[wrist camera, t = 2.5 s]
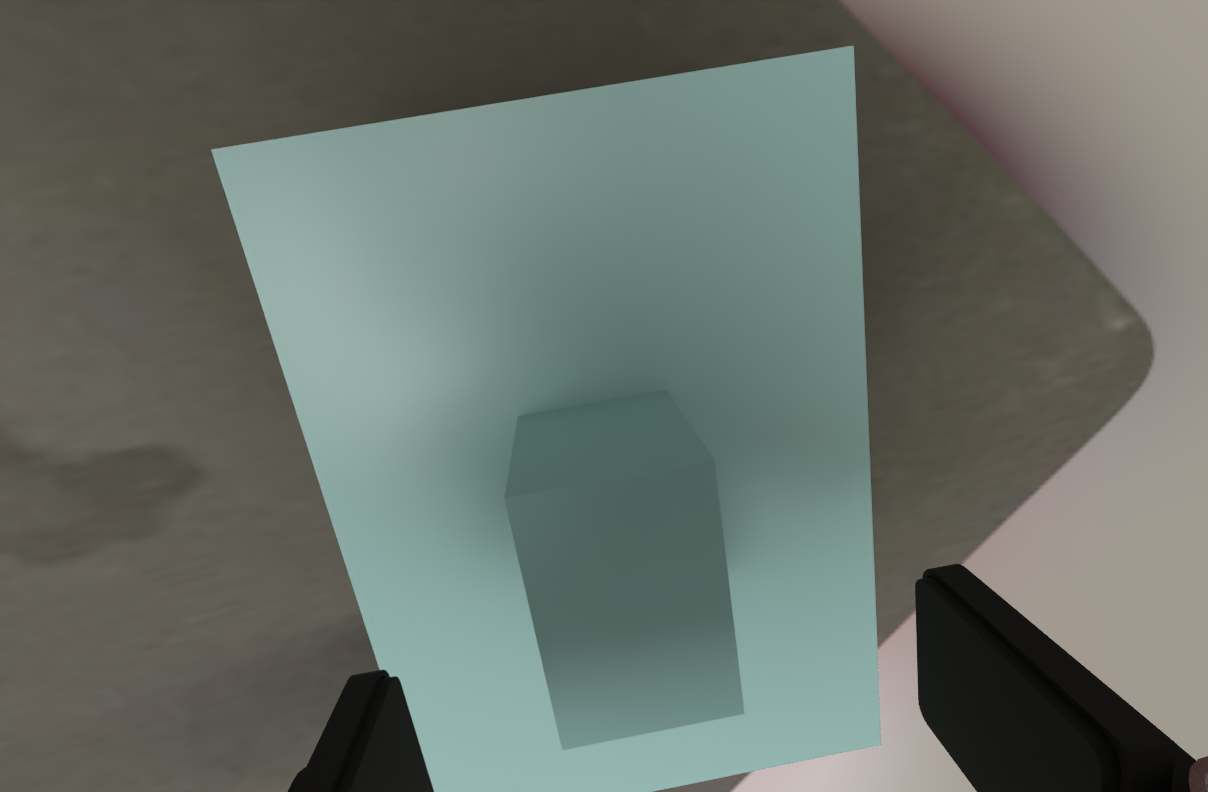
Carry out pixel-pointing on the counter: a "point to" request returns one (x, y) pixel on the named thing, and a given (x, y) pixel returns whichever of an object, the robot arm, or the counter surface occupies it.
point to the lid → (591, 417)
